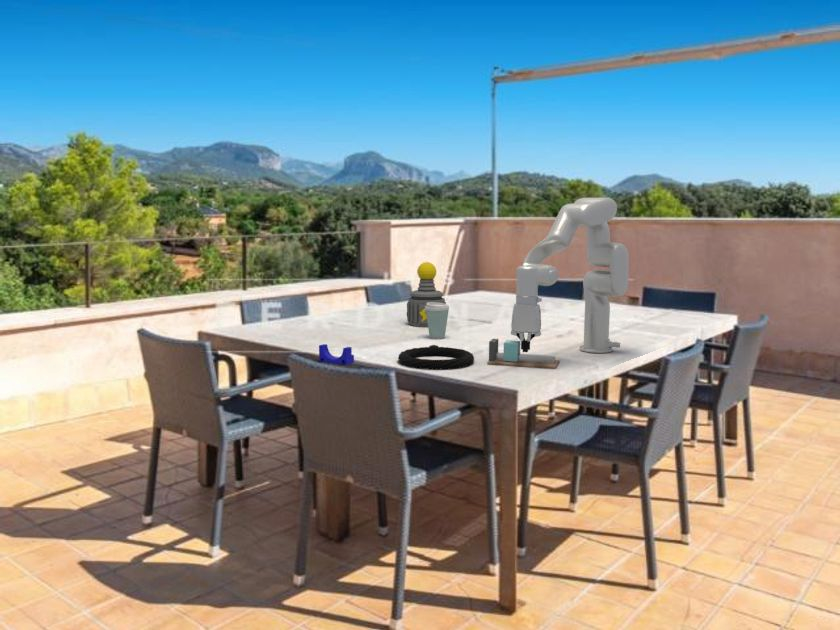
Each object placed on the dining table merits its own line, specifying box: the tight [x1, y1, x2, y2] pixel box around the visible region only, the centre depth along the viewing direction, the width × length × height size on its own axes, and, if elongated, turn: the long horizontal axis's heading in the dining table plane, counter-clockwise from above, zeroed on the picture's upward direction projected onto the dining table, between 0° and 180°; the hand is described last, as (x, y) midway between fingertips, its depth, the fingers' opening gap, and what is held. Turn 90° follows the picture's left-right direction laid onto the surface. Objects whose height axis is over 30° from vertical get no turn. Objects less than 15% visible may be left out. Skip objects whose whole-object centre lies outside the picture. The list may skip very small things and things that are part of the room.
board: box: [486, 359, 560, 370], centre depth 264 cm, size 24×12×1 cm, turn 73°
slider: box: [503, 339, 521, 362], centre depth 265 cm, size 5×6×6 cm
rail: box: [496, 351, 556, 364], centre depth 264 cm, size 21×2×2 cm, turn 73°
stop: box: [488, 338, 499, 361], centre depth 267 cm, size 2×7×7 cm, turn 163°
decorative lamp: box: [406, 261, 447, 328], centre depth 352 cm, size 19×19×30 cm
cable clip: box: [318, 343, 355, 366], centre depth 265 cm, size 12×4×6 cm, turn 62°
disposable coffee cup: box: [425, 302, 450, 340], centre depth 315 cm, size 11×11×15 cm
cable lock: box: [397, 344, 475, 370], centre depth 267 cm, size 28×4×30 cm
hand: (525, 351), depth 263 cm, fingers closed
